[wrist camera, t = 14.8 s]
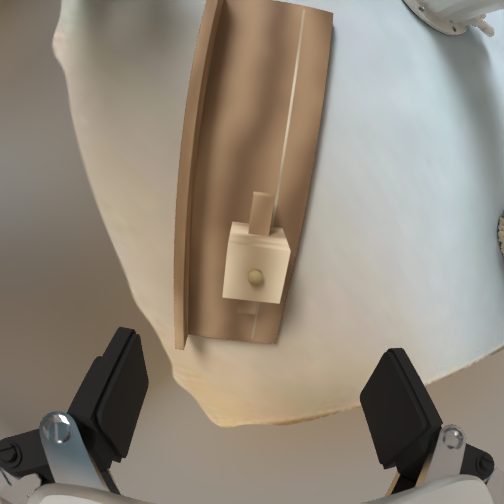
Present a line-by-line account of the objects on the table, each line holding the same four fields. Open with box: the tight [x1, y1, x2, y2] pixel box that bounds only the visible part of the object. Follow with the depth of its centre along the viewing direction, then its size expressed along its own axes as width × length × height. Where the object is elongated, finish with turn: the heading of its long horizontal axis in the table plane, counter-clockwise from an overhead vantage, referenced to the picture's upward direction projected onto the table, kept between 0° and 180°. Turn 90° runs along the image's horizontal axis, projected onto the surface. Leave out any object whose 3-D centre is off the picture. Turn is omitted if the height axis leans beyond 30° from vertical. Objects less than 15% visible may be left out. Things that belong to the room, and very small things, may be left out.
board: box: [174, 0, 333, 350], centre depth 25 cm, size 12×39×4 cm, turn 172°
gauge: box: [222, 192, 291, 314], centre depth 25 cm, size 5×12×7 cm, turn 172°
